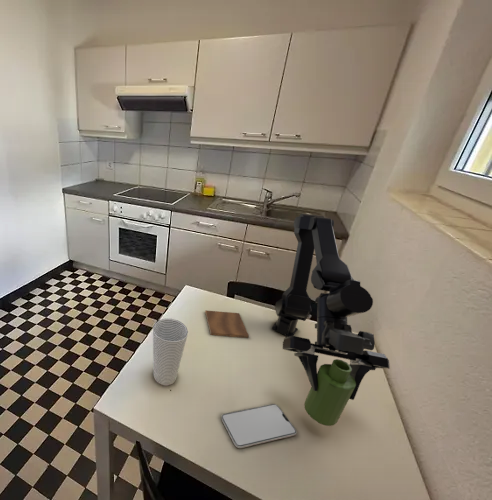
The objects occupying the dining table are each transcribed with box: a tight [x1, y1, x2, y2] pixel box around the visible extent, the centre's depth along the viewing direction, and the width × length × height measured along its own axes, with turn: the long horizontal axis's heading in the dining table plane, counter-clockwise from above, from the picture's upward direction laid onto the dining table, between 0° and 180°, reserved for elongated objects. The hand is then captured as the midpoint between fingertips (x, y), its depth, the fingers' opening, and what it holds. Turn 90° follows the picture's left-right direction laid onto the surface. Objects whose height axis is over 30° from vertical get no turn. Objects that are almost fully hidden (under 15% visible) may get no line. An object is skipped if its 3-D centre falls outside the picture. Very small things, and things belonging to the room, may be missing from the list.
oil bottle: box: [304, 358, 356, 427], centre depth 59 cm, size 6×6×14 cm
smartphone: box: [220, 403, 298, 449], centre depth 62 cm, size 7×1×15 cm
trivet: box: [204, 310, 250, 339], centre depth 95 cm, size 12×12×1 cm
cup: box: [152, 318, 189, 386], centre depth 70 cm, size 8×8×16 cm
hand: (332, 395), depth 58 cm, fingers closed on oil bottle, 6 cm apart
